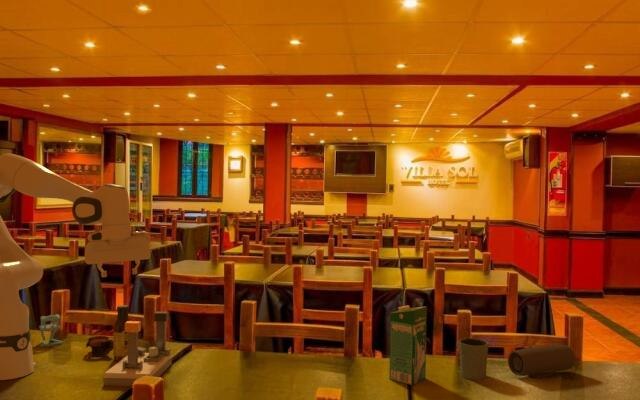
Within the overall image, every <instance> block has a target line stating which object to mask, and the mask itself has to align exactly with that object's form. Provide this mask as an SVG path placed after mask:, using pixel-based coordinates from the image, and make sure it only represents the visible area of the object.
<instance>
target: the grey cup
mask: <svg viewBox="0 0 640 400" xmlns="http://www.w3.org/2000/svg"><path fill="white" fill-rule="evenodd" d="M458 350H459V351H458V352H459V361H460V362H459V363H460V364H459V365H460V368H459V369H460V370H459V372H460V377H462V378H464V379H467V380H470V381H482V380H485V379H486V378H487V363H488V352H489V341H487V340H485V339H481V338H475V337H464V338H460V339H459V340H458Z"/></svg>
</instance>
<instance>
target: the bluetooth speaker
mask: <svg viewBox="0 0 640 400" xmlns="http://www.w3.org/2000/svg"><path fill="white" fill-rule="evenodd" d="M507 364H508V368H509V370H510V371H511V373H512V374H513V375H516V376H518V377H526V376H527V377H529V378H534V379H537V378H543V377H551V376H555V373H559V372H562V371H567V370H570V369H572V368H574V367H575V365H576V355H575V353H574V350H573V349H572V348H571V347H570V346H569V345H566V344H554V345H553V344H552V345H550V344H549V345H542V346H534V347H532V346H531V347H527V348H520V349H516V350H513V351H511V352H510V353H509V355H508V359H507Z"/></svg>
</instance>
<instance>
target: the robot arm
mask: <svg viewBox="0 0 640 400" xmlns="http://www.w3.org/2000/svg"><path fill="white" fill-rule="evenodd" d="M16 191H17V192H19V193H21V194H23V195H25V196H30V197H32V198H39V199H57V200H58V199H59V200H60V199H61V200H65V201H68V202H71V203H73V204H72V207H71V213H72V217H73V218H74V220H75V221H76V222H77V223H78V224H81V225H87V226H88V225H89V226H90V225H98V224H101V229H100V230H99V229H98V230H96V231H94V232H92V233H89V234H88V235H87V241H88V242H87V244H86V245H85V247H84V263H85V264H87V265H95V264H96V267H97V269H98V271H100V272H101V273H100V276H101V278H106V277H108V275H107V270H104V269H103V267H102V266H103V264H107V263H119V262H121V263H122V262H130V261H131V262H133V261H134V262H135V264H136V265H135V267H134V268H132V269H131V271H132V275H137V274H138V268H139V266H140V264H141V261H142V260H149V259H150V258H151V256H152V254H151V253H152V252H151V247H150V244H151V242H152V239H151V238H152V236H151V234H150V233H149V232H146V231H145V230H143V231H132V222H131V220H130V211H131V208H130V198H129V193H128V192H129V191H128V190H127V188H126V187H125V186H124V185H121V184H115V183H114V184H112V183H103V184H102V185H100V187H99V188H98V189H96V190H94V191H93V190H90V189H88V188H86V187H84V186H81V185H79V184H78V183H75V182H74V181H73V182H72V181H71V180H69V179H66V178H65V177H62V176H61V175H59V174H57V173H56V172H54V171H52V170H50V169H48V168H46V166H45V167H44V166H43V165H41V164H39V163H38V162H36V161H34V160H32V159H29V158H27V157H25V156H22V155H18V154H14V153H8V152H7V153H4V154H1V155H0V203H4V202H5V201H6V200H8V198H9V197H10V196H13V195H14V194H15V193H16ZM43 275H44V268H43V265H42V263H41V262H40V261H39V260H38V259H36V258H34V257H32V256H30V255H29V254H28V253H27V252H26V251H25V250H24V249H23V248H22V247H21V246H20V245H19V244H18V243H17V242H16V241H15V239H14V238H13V237H12V235H11V233H10V231H9V229H8V227H7V225H6V224H5V222H4V220H3V217H2V216H1V215H0V381H6V380H14V379H19V378H22V377H25V376H28V375H30V374H32V373H33V372H34V371H35V367H36V365H37V364H36V362H35V361H34V354H33V347H32V343H31V342H30V341H31V330H30V325H29V323H30V322H29V321H30V318H29V317H30V311H29V306H27V305H26V304H25V303H23V302H22V299H21V298H20V294H19V293H20V290H23V289H27V288H30V287H31V286H33V285H35V284H37V283H38V282H40V281H41V279H42V278H43Z"/></svg>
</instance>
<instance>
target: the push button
mask: <svg viewBox="0 0 640 400" xmlns="http://www.w3.org/2000/svg"><path fill="white" fill-rule="evenodd" d="M148 353H149V358H157V357H158V347H156V346H151V347H148Z"/></svg>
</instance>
